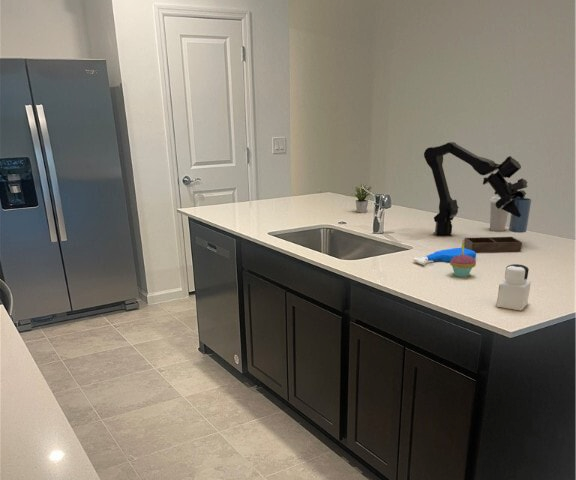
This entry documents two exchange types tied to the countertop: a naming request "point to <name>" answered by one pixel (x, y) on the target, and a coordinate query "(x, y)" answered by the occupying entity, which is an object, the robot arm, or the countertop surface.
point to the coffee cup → (497, 216)
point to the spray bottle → (445, 255)
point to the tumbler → (520, 222)
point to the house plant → (361, 199)
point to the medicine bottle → (514, 288)
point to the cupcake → (462, 264)
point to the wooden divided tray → (493, 244)
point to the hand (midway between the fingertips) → (523, 215)
